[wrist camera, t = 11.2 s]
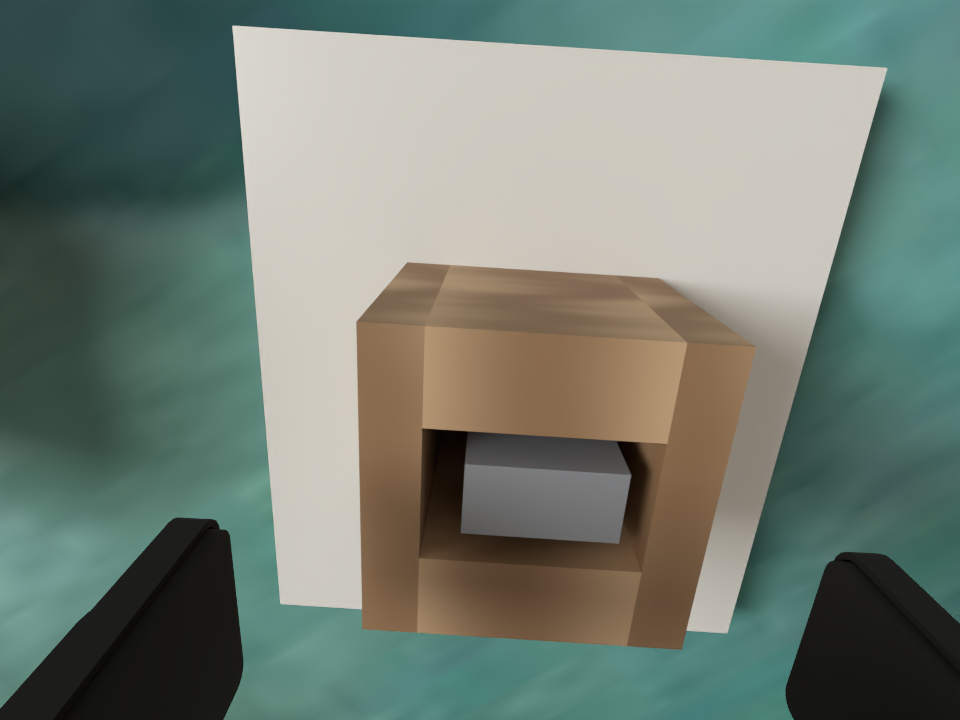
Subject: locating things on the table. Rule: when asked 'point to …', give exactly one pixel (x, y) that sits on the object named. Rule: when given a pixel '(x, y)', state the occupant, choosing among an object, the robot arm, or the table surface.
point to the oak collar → (541, 412)
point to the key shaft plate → (529, 250)
